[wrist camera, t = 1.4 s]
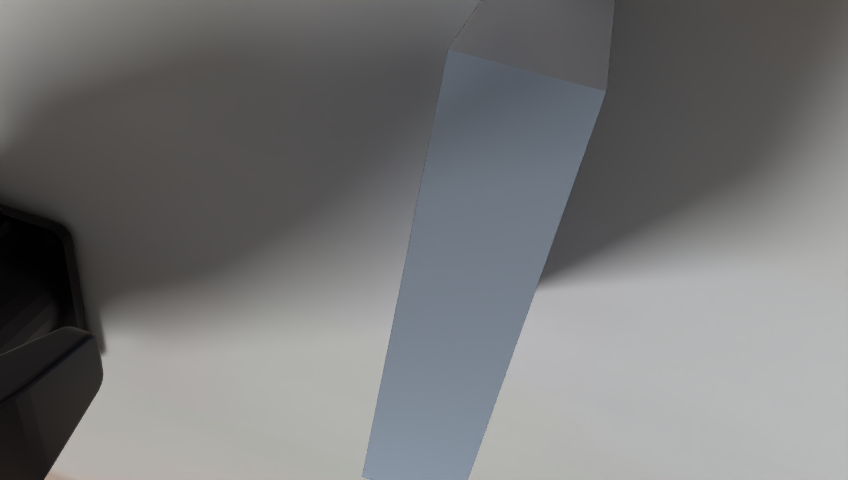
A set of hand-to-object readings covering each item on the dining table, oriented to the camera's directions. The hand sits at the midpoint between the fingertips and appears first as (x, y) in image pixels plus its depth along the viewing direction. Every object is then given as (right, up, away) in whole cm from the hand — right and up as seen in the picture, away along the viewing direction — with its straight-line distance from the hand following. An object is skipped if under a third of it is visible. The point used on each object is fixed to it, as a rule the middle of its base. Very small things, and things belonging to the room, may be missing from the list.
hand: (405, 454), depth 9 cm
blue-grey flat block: (+3, +5, +8) cm, 10 cm away
